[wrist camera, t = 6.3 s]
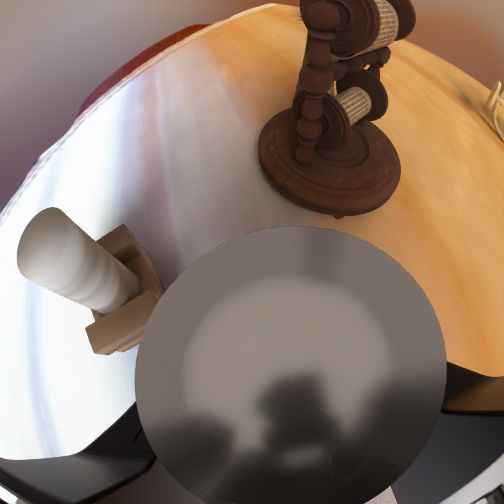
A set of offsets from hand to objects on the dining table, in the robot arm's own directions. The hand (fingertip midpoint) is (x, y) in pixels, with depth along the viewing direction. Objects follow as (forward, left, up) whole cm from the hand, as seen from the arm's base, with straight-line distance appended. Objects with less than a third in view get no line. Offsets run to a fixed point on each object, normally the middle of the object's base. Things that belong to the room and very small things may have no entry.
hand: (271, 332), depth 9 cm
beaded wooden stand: (0, -19, -13) cm, 23 cm away
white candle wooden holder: (+12, +1, -13) cm, 17 cm away
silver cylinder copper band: (-1, +1, -7) cm, 7 cm away
